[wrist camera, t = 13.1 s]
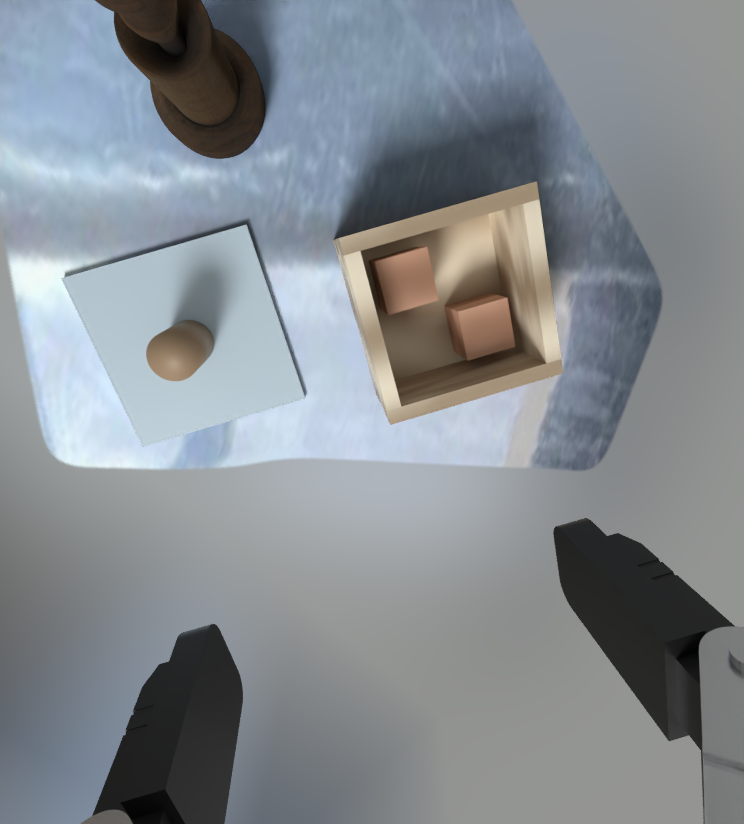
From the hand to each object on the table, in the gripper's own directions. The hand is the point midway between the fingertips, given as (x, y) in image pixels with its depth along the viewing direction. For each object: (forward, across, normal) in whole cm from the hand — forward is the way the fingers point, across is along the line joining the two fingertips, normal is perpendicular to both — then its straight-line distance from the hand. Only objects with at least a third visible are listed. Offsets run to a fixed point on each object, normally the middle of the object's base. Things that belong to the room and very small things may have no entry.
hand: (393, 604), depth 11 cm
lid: (+28, +10, -4) cm, 30 cm away
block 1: (+26, -6, -5) cm, 28 cm away
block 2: (+27, -11, 0) cm, 29 cm away
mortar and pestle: (+28, +3, -18) cm, 33 cm away
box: (+28, -8, -2) cm, 29 cm away
